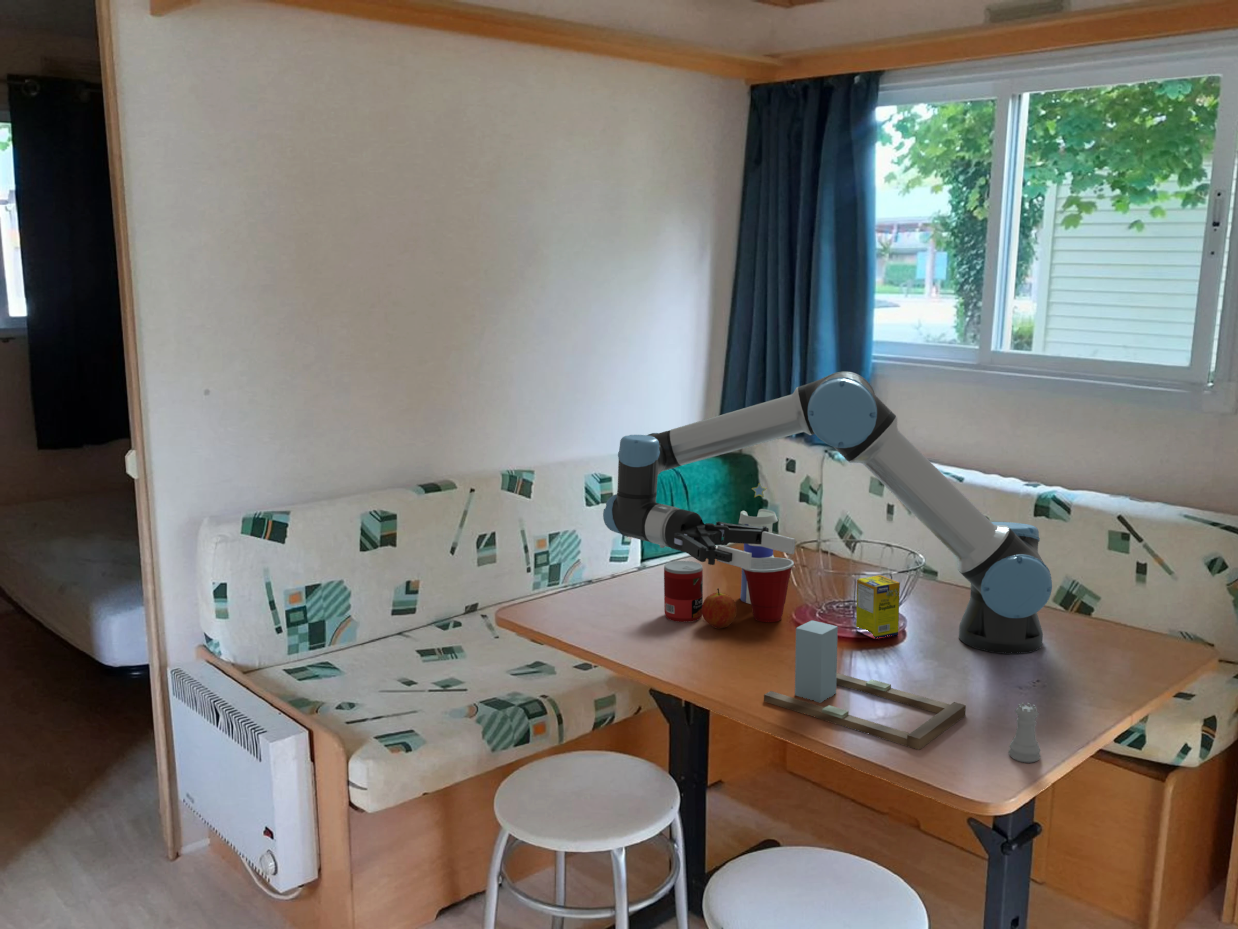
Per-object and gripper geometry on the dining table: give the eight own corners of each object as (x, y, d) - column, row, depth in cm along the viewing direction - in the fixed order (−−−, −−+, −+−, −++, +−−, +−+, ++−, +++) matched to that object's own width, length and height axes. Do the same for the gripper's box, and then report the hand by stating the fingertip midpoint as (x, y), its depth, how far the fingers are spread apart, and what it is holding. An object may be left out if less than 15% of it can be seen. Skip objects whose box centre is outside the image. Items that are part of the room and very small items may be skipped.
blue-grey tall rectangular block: (794, 695, 181) (795, 627, 179) (810, 686, 184) (811, 620, 182) (820, 703, 178) (821, 634, 175) (836, 693, 181) (837, 626, 179)
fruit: (742, 629, 213) (742, 591, 211) (711, 634, 210) (711, 596, 209) (726, 619, 219) (726, 581, 218) (696, 623, 217) (695, 586, 215)
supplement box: (899, 636, 208) (900, 582, 206) (874, 641, 206) (876, 586, 203) (879, 626, 213) (880, 574, 211) (855, 631, 211) (856, 578, 209)
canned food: (700, 623, 217) (700, 571, 215) (661, 621, 218) (661, 570, 216) (704, 611, 224) (704, 561, 222) (667, 609, 226) (667, 559, 224)
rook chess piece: (1033, 749, 160) (1036, 699, 158) (1045, 763, 155) (1048, 712, 154) (1003, 750, 159) (1006, 700, 158) (1015, 764, 155) (1018, 713, 154)
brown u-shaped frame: (764, 701, 178) (764, 691, 178) (815, 673, 190) (815, 663, 190) (919, 750, 160) (919, 739, 160) (965, 715, 172) (965, 705, 171)
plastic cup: (758, 606, 227) (758, 551, 225) (802, 616, 220) (803, 560, 218) (730, 619, 219) (730, 563, 217) (775, 630, 212) (776, 572, 210)
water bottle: (731, 595, 234) (731, 484, 230) (766, 591, 237) (767, 481, 232) (746, 606, 227) (747, 492, 222) (783, 602, 229) (784, 488, 224)
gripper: (714, 536, 207) (808, 560, 193) (630, 560, 188) (728, 590, 175) (716, 498, 205) (812, 520, 192) (632, 519, 187) (731, 546, 173)
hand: (772, 553), depth 183 cm, fingers open, 13 cm apart
